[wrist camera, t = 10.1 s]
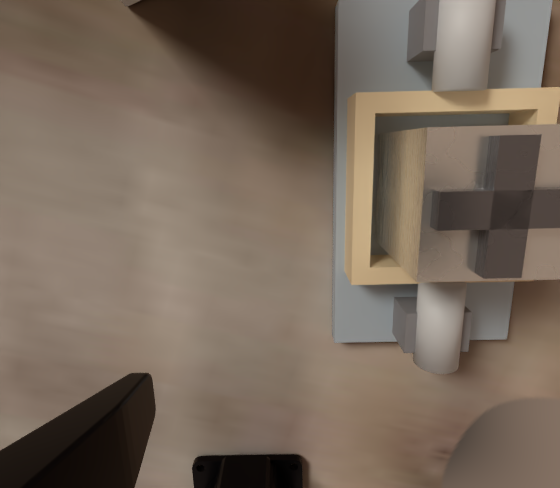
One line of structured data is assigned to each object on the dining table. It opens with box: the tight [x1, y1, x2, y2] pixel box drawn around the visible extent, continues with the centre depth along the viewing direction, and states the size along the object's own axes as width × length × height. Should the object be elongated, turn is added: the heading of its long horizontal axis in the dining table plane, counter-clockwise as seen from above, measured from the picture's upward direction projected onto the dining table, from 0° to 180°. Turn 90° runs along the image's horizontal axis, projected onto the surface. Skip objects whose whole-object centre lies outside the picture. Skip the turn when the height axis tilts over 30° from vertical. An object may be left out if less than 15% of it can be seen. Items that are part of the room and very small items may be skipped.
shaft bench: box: [332, 0, 560, 374], centre depth 17 cm, size 16×9×4 cm, turn 1°
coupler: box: [375, 124, 560, 282], centre depth 15 cm, size 5×5×7 cm
